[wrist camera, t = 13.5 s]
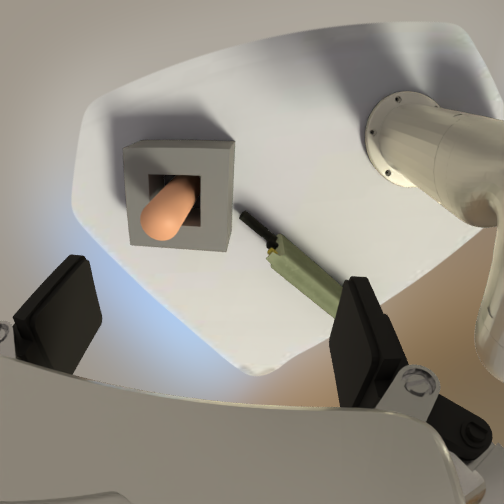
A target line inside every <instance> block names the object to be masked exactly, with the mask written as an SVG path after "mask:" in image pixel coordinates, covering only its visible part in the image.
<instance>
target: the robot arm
mask: <svg viewBox="0 0 504 504" xmlns="http://www.w3.org/2000/svg"><path fill="white" fill-rule="evenodd" d="M395 98H397V101H395ZM371 130H373V133H372V134H371V133H370V131H371ZM365 144H366V150H367V153H368V156H369V159H370V161H371V163H372V164H373V166H374V168H375V169H376V170H377V171H378V172H379V173H380V174H381V175H382V176H383V177H384V178H385V179H387V180H388V181H390V182H392V183H393V184H396V185H398V186H402V187H408V188H410V187H418V188H419V189H421V190H422V191H423V192H425V193H426V194H427V195H429V196H430V197H431V198H433V199H434V200H435V201H437V202H438V203H439V204H440V205H442V206H443V207H444V208H446V209H447V210H448V211H449V212H451V213H452V214H453V215H455V216H456V217H457V218H459V219H460V220H462V221H463V222H465V223H467V224H469V225H472V226H475V227H481V228H489V227H496V226H497V234H496V240H495V246H494V251H493V260H492V265H491V269H490V273H489V278H488V281H487V285H486V289H485V293H484V296H483V300H482V303H481V306H480V310H479V313H478V317H477V321H476V326H475V347H476V351H477V354H478V356H479V359H480V361H481V362H482V364H483V365H484V366H485V368H486V369H487V370H488V371H489V372H490V373H491V374H492V375H493V376H494V377H496V378H497V379H499V380H500V381H502V382H503V383H504V121H503V120H498V119H493V118H489V117H485V116H480V115H474V114H470V113H465V112H460V111H455V110H449V109H444V108H441V107H440V106H439V105H438V104H437V103H436V102H435V101H434V100H432V99H431V98H429V97H428V96H426V95H423V94H421V93H417V92H411V91H403V92H397V93H394V94H391V95H389V96H387V97H385V98H384V99H383V100H381V101H380V102H379V103H378V104H377V105H376V106H375V107H374V109H373V111H372V112H371V114H370V116H369V119H368V122H367V125H366V131H365ZM386 170H387V173H385V171H386ZM13 319H14V322H15V324H14V325H13V326H12V325H11V324H10V323H9V322H7V321H0V504H504V448H503V447H502V446H501V445H500V444H499V443H497V444H496V445H494V444H493V443H492V431H491V429H490V426H489V425H488V424H487V423H486V422H485V421H484V420H483V419H481V418H480V417H478V416H477V415H475V414H473V413H471V412H470V411H468V410H466V409H464V408H463V407H461V406H459V405H457V404H455V403H454V402H452V401H450V400H449V399H447V398H445V397H444V396H442V395H440V394H439V392H440V382H439V380H438V378H437V376H436V375H435V374H434V373H433V372H432V371H431V370H429V369H428V368H426V367H423V366H421V365H409V364H408V361H407V359H406V356H405V354H404V352H403V349H402V347H401V344H400V342H399V340H398V337H397V335H396V333H395V330H394V328H393V326H392V323H391V321H390V319H389V317H388V316H387V315H386V314H383V312H382V309H381V307H380V305H379V302H378V300H377V298H376V296H375V293H374V291H373V289H372V287H371V285H370V283H369V280H368V278H367V277H355V276H351V277H350V279H349V280H345V281H344V284H343V288H342V292H341V297H340V301H339V305H338V308H337V312H336V316H335V320H334V324H333V327H332V331H331V335H330V339H329V347H330V353H331V358H332V363H333V369H334V373H335V380H336V385H337V391H338V397H339V403H340V407H298V406H275V405H257V404H243V403H231V402H221V401H212V400H204V399H195V398H188V397H180V396H174V395H167V394H161V393H155V392H148V391H143V390H138V389H132V388H127V387H123V386H118V385H113V384H108V383H104V382H100V381H95V380H91V379H87V378H83V377H79V376H75V375H73V373H74V371H75V369H76V367H77V365H78V364H79V362H80V360H81V358H82V357H83V355H84V353H85V351H86V350H87V348H88V346H89V344H90V343H91V341H92V339H93V338H94V335H95V334H96V332H97V331H98V329H99V327H100V326H101V323H102V314H101V311H100V306H99V302H98V298H97V294H96V290H95V285H94V281H93V277H92V272H91V267H90V263H89V261H88V260H86V258H85V257H84V256H81V255H69V256H68V257H67V258H66V259H65V260H64V261H63V262H62V263H61V264H60V265H59V266H58V267H57V268H56V269H55V271H53V273H52V274H51V275H50V276H49V277H48V278H47V279H46V280H45V281H44V282H43V283H42V284H41V285H40V287H39V288H38V289H37V290H36V291H35V292H34V293H33V294H32V295H31V297H30V298H29V299H28V300H27V301H26V302H25V303H24V304H23V305H22V307H21V308H20V309H19V310H18V311H17V313H16V314H15V315H14V316H13Z"/></svg>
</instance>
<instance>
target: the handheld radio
mask: <svg viewBox="0 0 504 504" xmlns="http://www.w3.org/2000/svg"><path fill="white" fill-rule="evenodd" d="M239 219H240V220H242V221H243V222H244V223H245V224H247V225H248V226H249V227H250V228H251V229H253V230H254V231H255V232H256V233H257V234H259V235H260V236H261V237H263V238H264V239H266V240H267V244H266V246H267V248H268V249H269V250H268V252H267V253H268V254H269V256H268V257H267V258H266V259H267V260H268V261H269V262H270V263H271V268H272V269H274V270H275V271H276V272H277V273H279V274H280V275H281V276H282V277H284V278H285V279H286V280H287V281H288V282H290V283H291V284H292V285H293V286H295V287H296V288H297V289H298V290H300V291H301V292H302V293H303V294H305V295H306V296H307V297H308V298H309V299H311V300H312V301H313V302H314V303H316V304H317V305H318V306H319V307H321V308H322V309H323V310H324V311H326V312H327V313H328V314H329V315H331V316H332V317H333V318H334V319H335V316H336V312H337V308H338V305H339V301H340V297H341V292H342V288H343V287H342V286H341V285H340V284H339V283H338V282H336V281H335V280H334V279H333V278H332V277H331V276H330V275H328V274H327V273H326V272H325V271H324V270H323V269H322V268H320V267H319V266H318V265H317V264H316V263H315V262H314V261H312V260H311V259H310V258H309V257H308V256H307V255H305V254H304V253H303V252H302V251H301V250H300V249H299V248H297V247H296V246H295V245H294V244H293V243H292V242H290V241H289V240H288V239H287V238H286V237H285V236H283V235H282V234H278V235H276V236H275V235H274V234H272V233H271V232H270V231H268V229H267V228H266V227H264V226H263V225H262V224H261V223H260V222H259V221H257V220H256V219H255V218H254V217H253V216H251V215H250V214H249V213H248V212H247V211H244V212H242V213H241V215H240V217H239Z"/></svg>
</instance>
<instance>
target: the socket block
mask: <svg viewBox="0 0 504 504" xmlns="http://www.w3.org/2000/svg"><path fill="white" fill-rule="evenodd" d="M234 156H235V141H218V140H141V141H139V142H136V143H134V144H132V145H129V146H127V147H125V148H123V164H124V181H125V195H126V207H127V217H128V227H129V236H130V245H135V246H149V247H162V248H176V249H190V250H204V251H217V252H226V251H227V247H228V243H229V239H230V235H231V231H232V204H233V179H234ZM164 175H198V176H201V208H191V210H190V212H189V213H188V215H187V217H186V218H185V220H184V222H183V224H182V225H181V227H180V229H179V230H178V232H177V234H176V235H175V236H174V237H173V238H171V239H169V240H165V241H160V240H155V239H153V238H151V237H150V236H148V235H147V234H146V233H145V232H144V230H143V228H142V226H141V222H140V216H141V212H142V210H143V209H144V208H145V206H146V205H147V204H148V203H149V202H150V201H151V200H152V199H153V198H154V197H155V196H156V195H157V194H158V193H159V192H160V191H161V190H162V189H163V188H164V187H165V183H164Z"/></svg>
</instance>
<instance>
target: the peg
mask: <svg viewBox="0 0 504 504" xmlns="http://www.w3.org/2000/svg"><path fill="white" fill-rule="evenodd" d="M200 194H201V178H200V177H199V176H198V175H176V176H175V177H174V178H173V179H172V180H171V181H170V182H169V183H168V184H167V185H166V186H165V187H164V188H163V189H162V190H161V191H160V192H159V193H158V194H157V195H156V196H155V197H154V198H153V199H152V200H151V201H150V202H149V203H148V204H147V205H146V206H145V208H144V209H143V210H142V212H141V216H140V222H141V226H142V228H143V230H144V232H145V233H146V234H147V235H148V236H150V237H151V238H153V239H155V240H160V241H165V240H169V239H171V238H173V237H174V236H175V235H176V234H177V232H178V230H179V229H180V227H181V225H182V224H183V222H184V220H185V218H186V217H187V215H188V213H189V212H190V210H191V208H192V207H193V205H194V203H195V202H196V200H197V198H198V197H199V195H200Z"/></svg>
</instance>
